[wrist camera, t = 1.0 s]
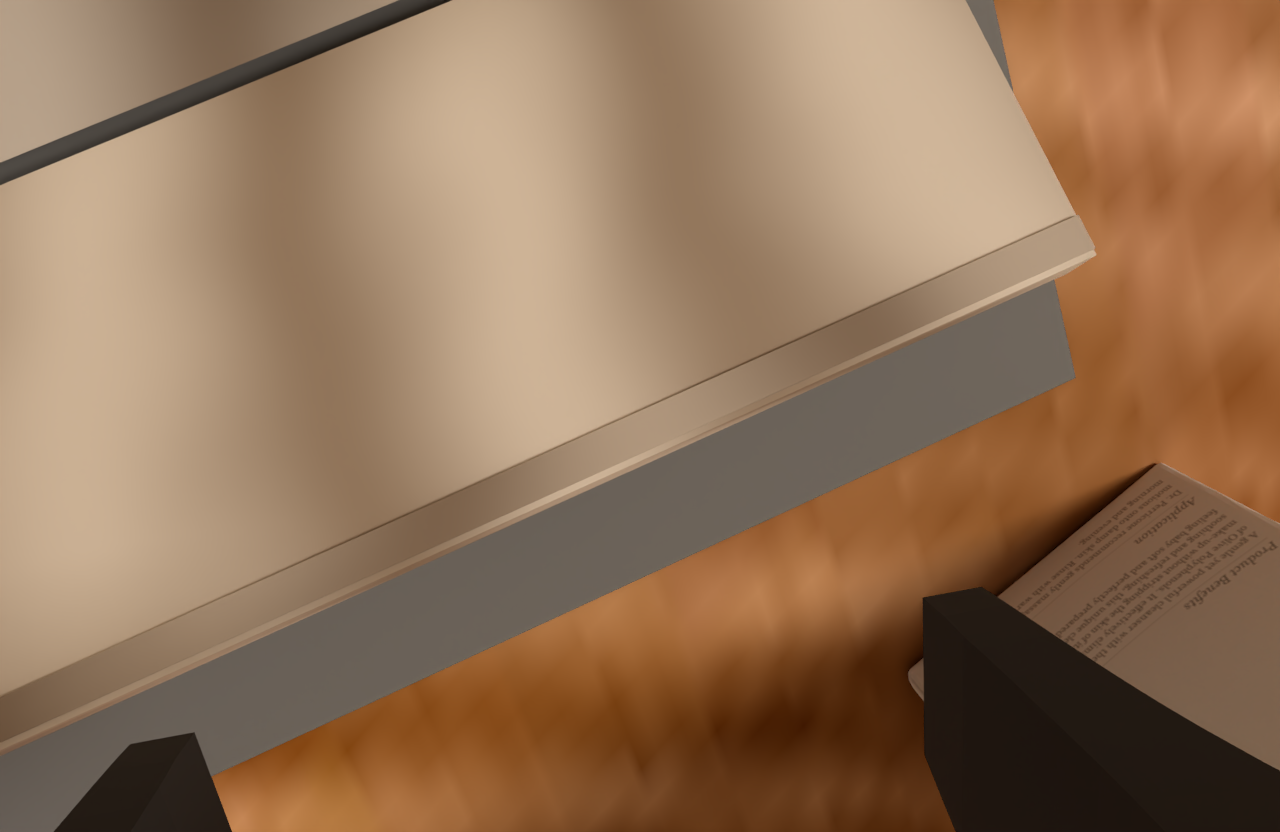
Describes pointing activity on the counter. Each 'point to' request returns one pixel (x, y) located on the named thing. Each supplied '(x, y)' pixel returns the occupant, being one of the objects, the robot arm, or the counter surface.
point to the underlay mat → (545, 542)
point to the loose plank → (465, 298)
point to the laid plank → (133, 54)
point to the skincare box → (1171, 604)
